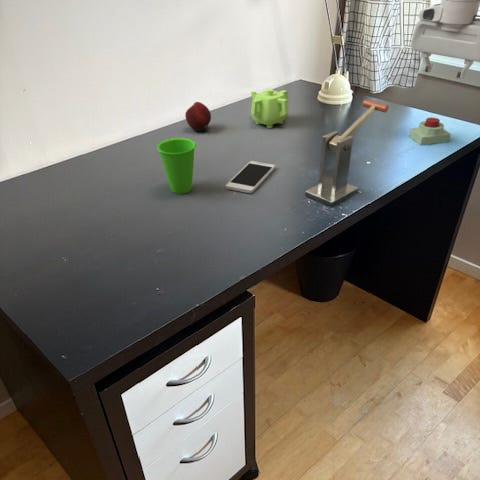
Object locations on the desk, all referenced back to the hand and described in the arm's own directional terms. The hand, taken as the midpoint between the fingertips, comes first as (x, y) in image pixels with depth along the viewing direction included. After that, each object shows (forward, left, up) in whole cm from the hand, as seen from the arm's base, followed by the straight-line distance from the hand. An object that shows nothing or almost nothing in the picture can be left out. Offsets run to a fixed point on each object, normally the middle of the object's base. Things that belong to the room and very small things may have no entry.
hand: (443, 74), depth 125 cm
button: (0, -1, -13) cm, 14 cm away
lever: (+18, +34, -4) cm, 38 cm away
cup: (+57, +47, -17) cm, 76 cm away
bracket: (+21, +40, -17) cm, 48 cm away
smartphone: (+42, +37, -17) cm, 58 cm away
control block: (0, -1, -17) cm, 17 cm away
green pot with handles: (+48, -2, -17) cm, 51 cm away
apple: (+67, +9, -17) cm, 70 cm away
